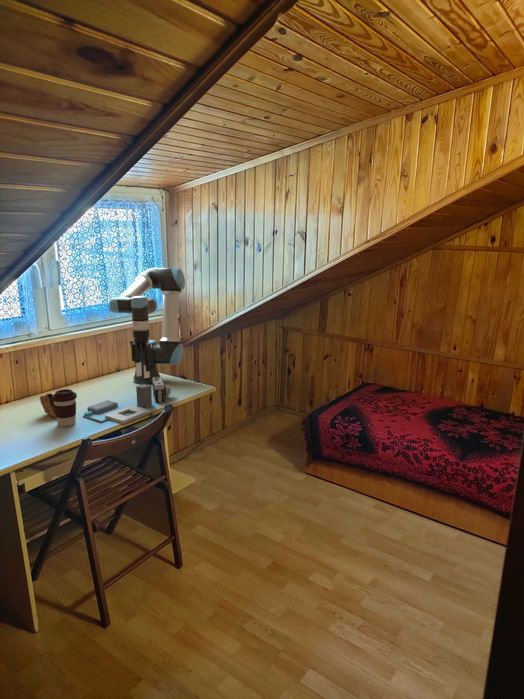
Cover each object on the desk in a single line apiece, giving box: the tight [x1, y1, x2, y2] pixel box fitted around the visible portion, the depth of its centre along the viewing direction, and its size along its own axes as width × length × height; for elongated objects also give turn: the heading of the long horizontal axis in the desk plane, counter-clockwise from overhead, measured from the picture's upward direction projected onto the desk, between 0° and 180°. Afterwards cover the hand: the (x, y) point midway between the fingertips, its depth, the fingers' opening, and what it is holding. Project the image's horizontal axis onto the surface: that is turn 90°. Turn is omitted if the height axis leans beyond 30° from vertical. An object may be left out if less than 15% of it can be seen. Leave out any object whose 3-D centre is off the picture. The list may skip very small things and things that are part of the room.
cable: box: [82, 411, 111, 424], centre depth 210 cm, size 5×13×1 cm, turn 57°
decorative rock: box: [39, 393, 57, 419], centre depth 212 cm, size 12×6×11 cm, turn 63°
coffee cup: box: [52, 388, 78, 428], centre depth 201 cm, size 10×10×15 cm
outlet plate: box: [104, 404, 151, 425], centre depth 214 cm, size 16×12×2 cm
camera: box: [152, 376, 171, 404], centre depth 237 cm, size 14×8×10 cm, turn 18°
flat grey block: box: [86, 400, 119, 415], centre depth 222 cm, size 12×7×3 cm, turn 148°
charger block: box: [135, 384, 153, 409], centre depth 226 cm, size 5×5×10 cm
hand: (143, 376), depth 224 cm, fingers open, 5 cm apart
